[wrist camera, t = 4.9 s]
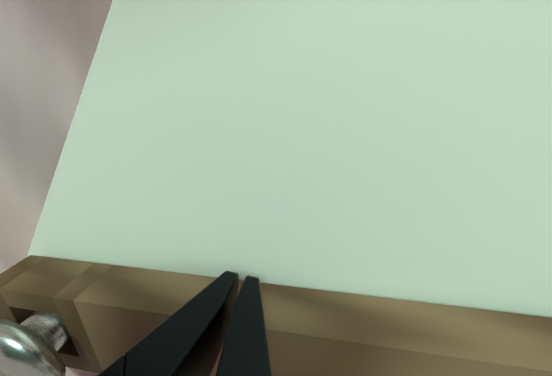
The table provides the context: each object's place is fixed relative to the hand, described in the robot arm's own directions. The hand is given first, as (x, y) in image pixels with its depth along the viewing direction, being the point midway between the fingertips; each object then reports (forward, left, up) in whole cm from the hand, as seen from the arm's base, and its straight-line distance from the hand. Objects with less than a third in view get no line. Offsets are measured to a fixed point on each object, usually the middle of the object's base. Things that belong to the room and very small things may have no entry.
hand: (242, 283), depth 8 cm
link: (-2, +2, -1) cm, 3 cm away
